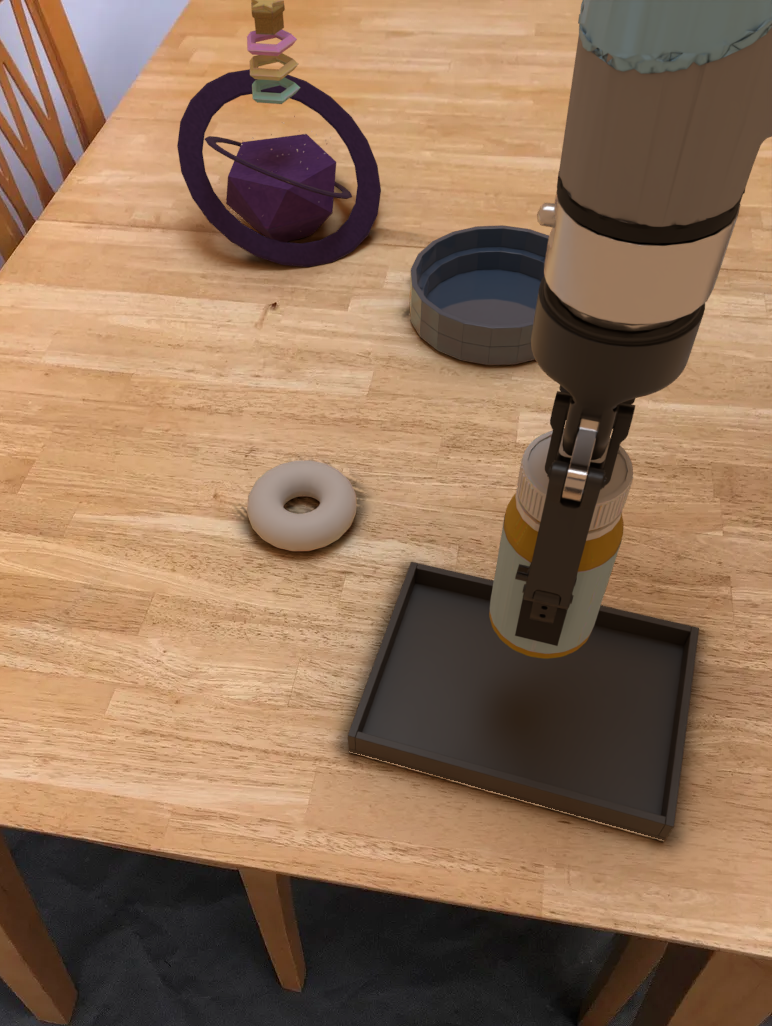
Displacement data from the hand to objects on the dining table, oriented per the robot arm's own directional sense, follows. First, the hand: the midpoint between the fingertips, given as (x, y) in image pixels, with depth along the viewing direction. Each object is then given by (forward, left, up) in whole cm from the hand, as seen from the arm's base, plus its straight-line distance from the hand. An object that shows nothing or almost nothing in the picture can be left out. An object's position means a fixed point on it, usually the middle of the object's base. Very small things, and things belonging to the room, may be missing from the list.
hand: (548, 589), depth 61 cm
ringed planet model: (+41, -57, -14) cm, 72 cm away
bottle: (0, 0, -4) cm, 4 cm away
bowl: (+13, -47, -14) cm, 51 cm away
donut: (+23, -13, -14) cm, 30 cm away
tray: (0, 0, -14) cm, 14 cm away
